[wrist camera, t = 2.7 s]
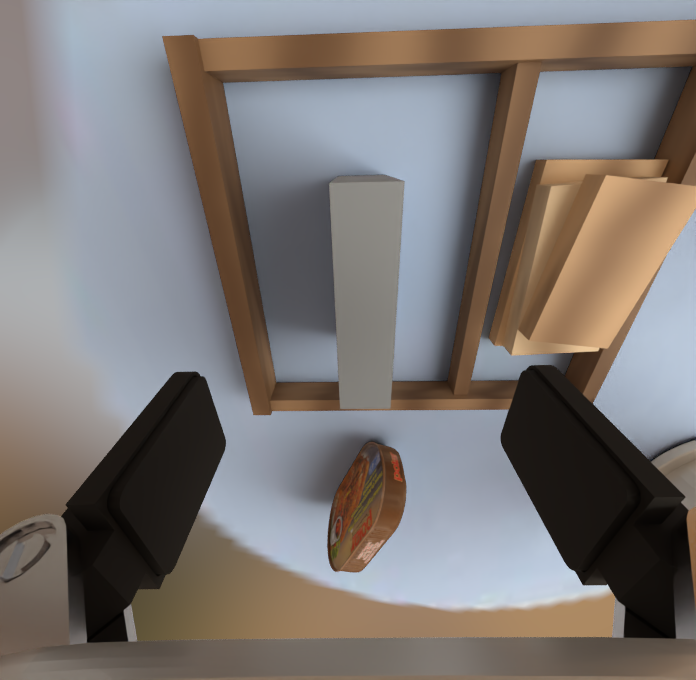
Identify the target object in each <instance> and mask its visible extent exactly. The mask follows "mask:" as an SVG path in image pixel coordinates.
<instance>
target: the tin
mask: <svg viewBox="0 0 696 680" xmlns="http://www.w3.org/2000/svg"><path fill="white" fill-rule="evenodd" d="M405 501H406V480H405V476H404V470H403V465H402V462H401V458H400V455H399V453H398V452H397V451H396V450H395V449H393V448H391V447H388V446H384V445H380V444H376V443H375V442H368V443H367V444H365V445H364V446H363V448H362V449H361V451H360V452H359V454H358V456H357V457H356V459H355V461H354V463H353V464H352V466H351V468H350V469H349V471H348V473H347V475H346V476H345V478H344V479H343V481H342V483H341V484H340V486H339V488H338V490H337V492H336V494H335V497H334V500H333V504H332V508H331V513H330V519H329V527H328V544H327V547H328V558H329V563H330V566H331V568H332V569H333V570H334V571H335V572H338V571H345V572H360V571H362V570H363V569H364V568H365V567H366V566H367V564H368V563H369V562H370V561H371V560H372V558H373V557H374V556H375V555H376V554H377V552H378V551H379V550H380V549H381V547H382V546H383V545H384V544H385V543H386V541H387V540H388V539H389V538H390V537H391V535H392V534H393V533H394V532H395V530H396V529H397V527H398V525H399V523H400V521H401V518H402V515H403V511H404V507H405Z"/></svg>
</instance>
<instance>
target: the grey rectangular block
mask: <svg viewBox="0 0 696 680" xmlns="http://www.w3.org/2000/svg"><path fill="white" fill-rule="evenodd" d="M329 193H330V213H331V234H332V254H333V275H334V295H335V315H336V336H337V356H338V377H339V397H340V409H390V408H391V392H392V375H393V359H394V343H395V326H396V310H397V294H398V278H399V261H400V245H401V229H402V212H403V196H404V181H402V180H399V179H396V178H393V177H390V176H387V175H355V176H338V177H336V178H335V179H334V180H333V181H331V182H330V183H329Z"/></svg>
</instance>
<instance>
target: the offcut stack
mask: <svg viewBox="0 0 696 680" xmlns="http://www.w3.org/2000/svg"><path fill="white" fill-rule="evenodd" d="M667 163H668V160H536V162H535V166H534V170H533V174H532V177H531V181H530V185H529V189H528V192H527V196H526V200H525V204H524V207H523V211H522V215H521V219H520V222H519V226H518V230H517V234H516V237H515V241H514V245H513V249H512V252H511V256H510V260H509V264H508V267H507V271H506V275H505V279H504V283H503V286H502V290H501V294H500V298H499V301H498V305H497V309H496V313H495V316H494V320H493V324H492V328H491V331H490V335H489V339H490V340H491V342H492V343H493V344H494V345H495V346H504V347H505V348H506V350H507V351H508V352H509V353H510V354H511V355H532V354H552V353H572V352H592V351H598V350H599V348H606V349H608V348H609V346H610V344H611V343H612V341H613V340H614V338H615V336H616V335H617V333H618V332H619V330H620V328H621V327H622V325H623V324H624V322H625V320H626V319H627V317H628V316H629V314H630V312H631V311H632V309H633V308H634V306H635V304H636V303H637V301H638V300H639V298H640V296H641V295H642V293H643V292H644V290H645V289H646V287H647V285H648V284H649V282H650V281H651V279H652V277H653V276H654V274H655V273H656V271H657V269H658V268H659V266H660V265H661V263H662V261H663V260H664V258H665V257H666V255H667V253H668V252H669V250H670V249H671V247H672V245H673V244H674V242H675V241H676V239H677V237H678V236H679V234H680V233H681V231H682V229H683V228H684V226H685V225H686V223H687V221H688V220H689V218H690V217H691V215H692V213H693V212H694V210H695V209H696V186H690V185H682V184H674V183H666V181H667V178H668V177H661V176H662V174H663V171H664V169H665V167H666V165H667Z"/></svg>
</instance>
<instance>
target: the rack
mask: <svg viewBox="0 0 696 680" xmlns="http://www.w3.org/2000/svg"><path fill="white" fill-rule="evenodd" d="M162 38H163V42H164V46H165V50H166V54H167V58H168V62H169V67H170V71H171V75H172V79H173V83H174V87H175V91H176V96H177V100H178V104H179V108H180V112H181V116H182V120H183V125H184V129H185V133H186V137H187V141H188V145H189V149H190V154H191V158H192V162H193V166H194V170H195V174H196V178H197V183H198V187H199V191H200V195H201V199H202V203H203V207H204V212H205V216H206V220H207V224H208V228H209V232H210V236H211V241H212V245H213V249H214V253H215V257H216V261H217V265H218V270H219V274H220V278H221V282H222V286H223V290H224V294H225V299H226V303H227V307H228V311H229V315H230V319H231V323H232V328H233V332H234V336H235V340H236V344H237V348H238V352H239V357H240V361H241V365H242V369H243V373H244V377H245V381H246V386H247V390H248V394H249V398H250V402H251V406H252V411H253V415H271V413H272V411H346V410H500V409H509V408H510V405H511V402H512V399H513V396H514V393H515V390H516V387H517V384H518V381H519V380H517V381H471V377H472V373H473V368H474V364H475V360H476V355H477V351H478V346H479V342H480V337H481V333H482V328H483V324H484V319H485V315H486V310H487V306H488V301H489V297H490V292H491V288H492V283H493V279H494V275H495V270H496V266H497V261H498V257H499V252H500V248H501V243H502V239H503V234H504V230H505V225H506V221H507V216H508V212H509V207H510V203H511V198H512V194H513V190H514V185H515V181H516V176H517V172H518V167H519V163H520V158H521V154H522V149H523V145H524V140H525V136H526V131H527V127H528V122H529V118H530V113H531V109H532V105H533V100H534V96H535V91H536V87H537V82H538V78H539V73H540V72H544V71H573V70H602V69H631V68H659V67H688V66H693V67H692V69H691V72H690V74H689V77H688V79H687V81H686V84H685V86H684V89H683V91H682V94H681V96H680V98H679V101H678V103H677V106H676V108H675V110H674V113H673V115H672V118H671V120H670V123H669V125H668V127H667V130H666V132H665V135H664V137H663V140H662V142H661V144H660V147H659V149H658V152H657V154H656V156H655V159H654V160H668V163H667V165H666V167H665V169H664V171H663V174H662V176H661V177H668V178H667V181H666V183H674V184H682V185H690V186H696V20H675V21H649V22H623V23H597V24H571V25H545V26H519V27H493V28H467V29H441V30H415V31H389V32H363V33H337V34H311V35H285V36H259V37H233V38H208V39H198V38H196V37H195V36H194V35H182V36H162ZM486 73H501V78H500V84H499V90H498V95H497V101H496V107H495V112H494V118H493V124H492V129H491V135H490V141H489V147H488V152H487V158H486V164H485V169H484V175H483V181H482V187H481V192H480V198H479V204H478V209H477V215H476V221H475V226H474V232H473V238H472V244H471V249H470V255H469V261H468V266H467V272H466V278H465V283H464V289H463V295H462V301H461V306H460V312H459V318H458V323H457V329H456V335H455V340H454V346H453V352H452V358H451V363H450V369H449V375H448V380H447V381H405V382H392V392H391V408H390V409H340V397H339V382H292V383H276V378H275V372H274V367H273V361H272V356H271V350H270V344H269V339H268V333H267V327H266V322H265V316H264V311H263V305H262V299H261V294H260V288H259V283H258V277H257V271H256V266H255V260H254V255H253V249H252V243H251V238H250V232H249V226H248V221H247V215H246V210H245V204H244V198H243V193H242V187H241V182H240V176H239V170H238V165H237V159H236V153H235V148H234V142H233V137H232V131H231V125H230V120H229V114H228V109H227V103H226V97H225V92H224V86H223V83H227V82H255V81H284V80H313V79H342V78H371V77H400V76H429V75H457V74H486ZM664 259H665V258H664ZM663 261H664V260H663ZM663 261H662V263H663ZM662 263H661V265H662ZM661 265H660V266H659V268H658V269H657V271H656V273H655V274H654V276H653V277H652V279H651V281H650V282H649V284H648V285H647V287H646V289H645V290H644V292H643V293H642V295H641V296H640V298H639V300H638V301H637V303H636V304H635V306H634V308H633V309H632V311H631V312H630V314H629V316H628V317H627V319H626V320H625V322H624V324H623V325H622V327H621V328H620V330H619V332H618V333H617V335H616V336H615V338H614V340H613V341H612V343H611V344H610V346H609V348H608V349H606V348H599V350H598V351H592V352H574V355H573V357H572V360H571V362H570V365H569V367H568V369H567V372H566V374H565V377H566V378H567V379H568V380H569V381H570V382H571V383H572V384H573V385H574V386H575V387H576V388H577V389H578V390H579V391H580V392H581V393H582V394H583V395H584V396H585V397H586V398H587V399H588V400H589V401H590V402H591V403H592V404H593V402H594V400H595V398H596V396H597V394H598V392H599V390H600V388H601V386H602V384H603V382H604V380H605V378H606V376H607V374H608V372H609V370H610V368H611V366H612V364H613V362H614V360H615V358H616V356H617V354H618V352H619V350H620V348H621V346H622V344H623V342H624V340H625V338H626V336H627V334H628V332H629V330H630V328H631V326H632V324H633V322H634V320H635V318H636V316H637V314H638V311H639V309H640V307H641V305H642V303H643V301H644V299H645V297H646V295H647V293H648V291H649V289H650V287H651V285H652V283H653V281H654V279H655V277H656V275H657V273H658V271H659V269H660V267H661Z"/></svg>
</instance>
